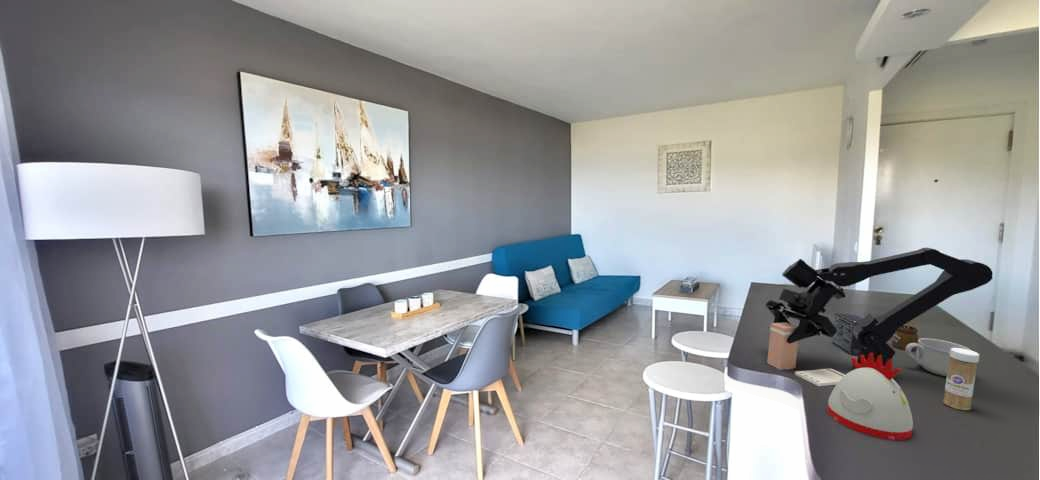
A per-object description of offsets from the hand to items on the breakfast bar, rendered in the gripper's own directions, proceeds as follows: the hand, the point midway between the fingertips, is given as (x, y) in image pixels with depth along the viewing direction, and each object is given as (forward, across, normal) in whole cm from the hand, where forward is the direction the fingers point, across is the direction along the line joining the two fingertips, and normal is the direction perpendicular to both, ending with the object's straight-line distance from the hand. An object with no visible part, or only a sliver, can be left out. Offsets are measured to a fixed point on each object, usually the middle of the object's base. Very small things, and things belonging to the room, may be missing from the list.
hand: (779, 338), depth 114 cm
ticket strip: (+1, +9, +10) cm, 14 cm away
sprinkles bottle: (-11, +27, +23) cm, 37 cm away
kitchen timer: (+9, +28, +3) cm, 29 cm away
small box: (-19, -7, +31) cm, 37 cm away
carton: (+5, 0, +7) cm, 8 cm away
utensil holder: (-32, -5, +44) cm, 55 cm away
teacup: (-24, +11, +36) cm, 44 cm away
